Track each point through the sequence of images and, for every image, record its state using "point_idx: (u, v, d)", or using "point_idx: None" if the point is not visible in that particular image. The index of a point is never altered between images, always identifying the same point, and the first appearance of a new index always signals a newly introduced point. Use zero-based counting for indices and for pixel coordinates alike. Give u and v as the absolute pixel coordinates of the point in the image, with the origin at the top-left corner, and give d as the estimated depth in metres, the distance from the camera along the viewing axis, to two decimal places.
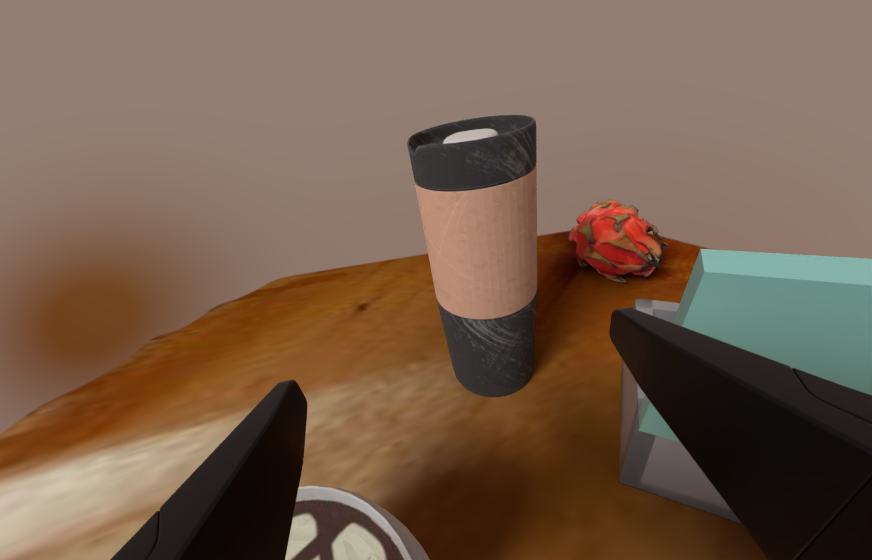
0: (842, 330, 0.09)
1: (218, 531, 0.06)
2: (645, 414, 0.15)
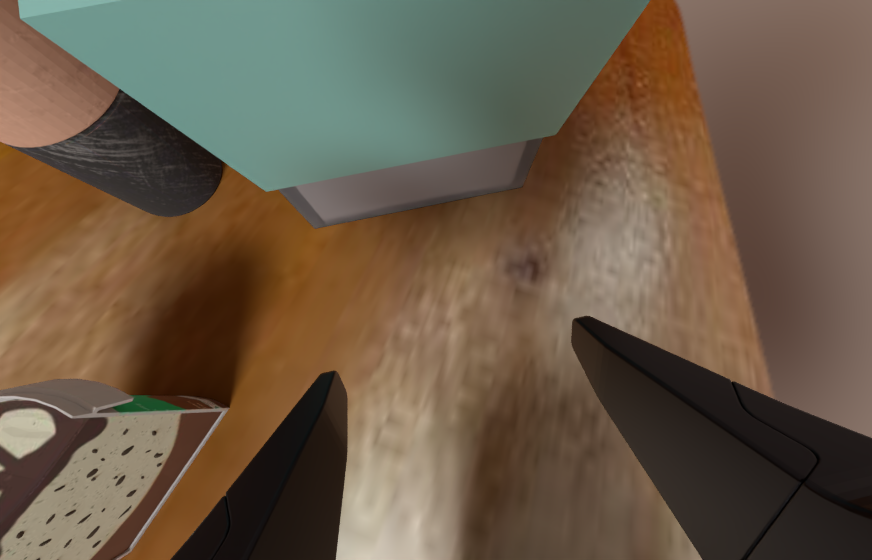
0: (221, 50, 0.09)
1: (285, 516, 0.06)
2: (248, 178, 0.16)
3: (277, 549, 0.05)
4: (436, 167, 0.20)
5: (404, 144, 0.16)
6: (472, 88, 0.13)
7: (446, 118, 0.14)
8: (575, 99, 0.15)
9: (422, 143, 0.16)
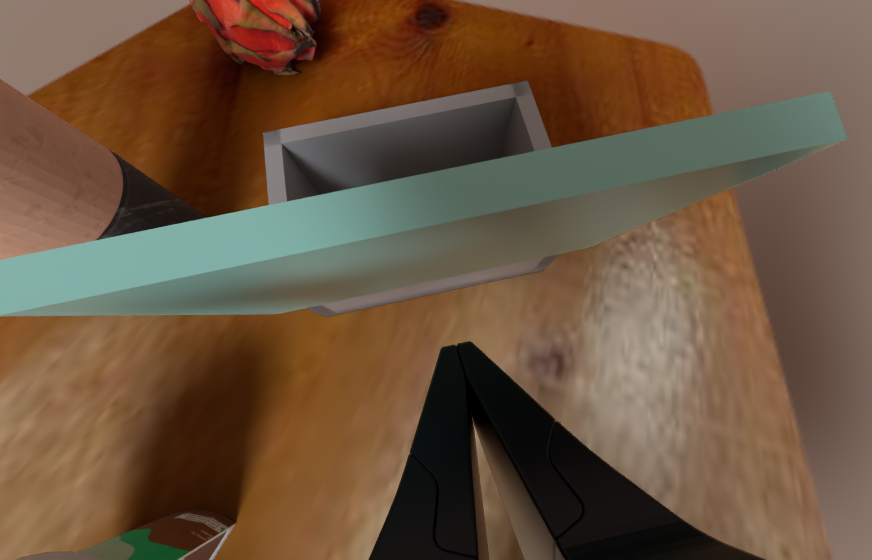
0: (237, 285, 0.08)
1: (473, 473, 0.06)
2: (259, 313, 0.15)
3: (477, 503, 0.05)
4: None
5: (429, 277, 0.14)
6: (511, 249, 0.11)
7: (477, 262, 0.13)
8: (617, 234, 0.14)
9: (448, 273, 0.15)
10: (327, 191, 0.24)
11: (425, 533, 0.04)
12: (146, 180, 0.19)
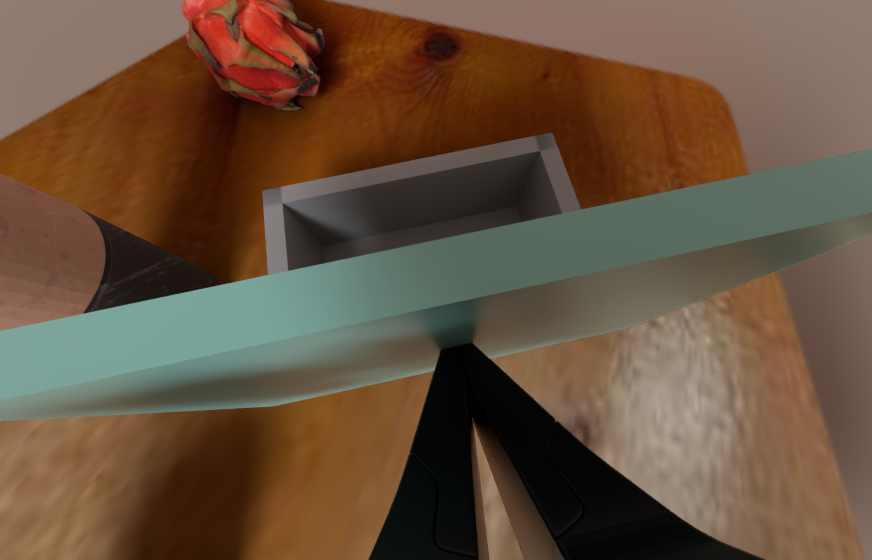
0: (206, 380, 0.06)
1: (474, 473, 0.06)
2: (252, 406, 0.13)
3: (477, 503, 0.05)
4: None
5: None
6: (545, 331, 0.10)
7: (504, 346, 0.11)
8: (666, 312, 0.12)
9: None
10: (331, 241, 0.23)
11: (425, 533, 0.04)
12: (133, 244, 0.17)
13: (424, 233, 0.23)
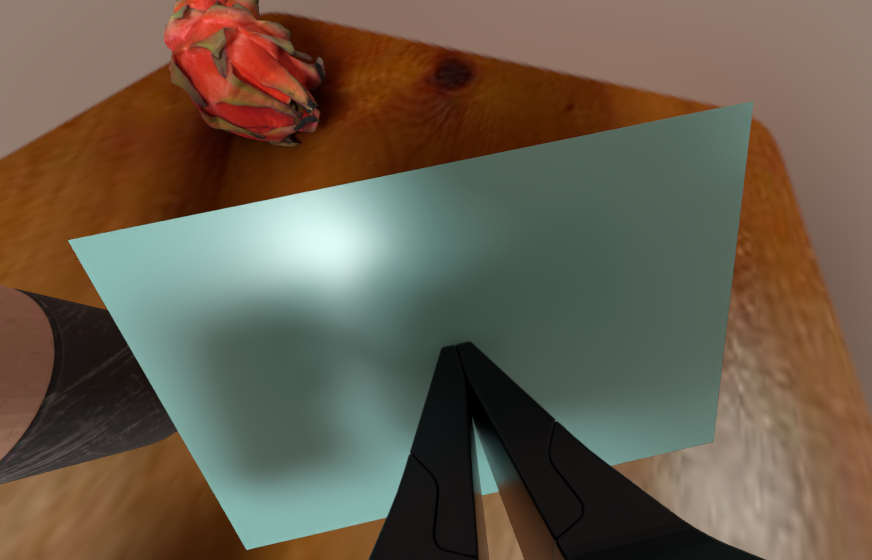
0: (244, 278, 0.08)
1: (474, 473, 0.06)
2: (227, 513, 0.10)
3: (477, 503, 0.05)
4: None
5: None
6: (551, 342, 0.09)
7: None
8: (713, 366, 0.10)
9: None
10: None
11: (425, 533, 0.04)
12: (95, 330, 0.14)
13: None
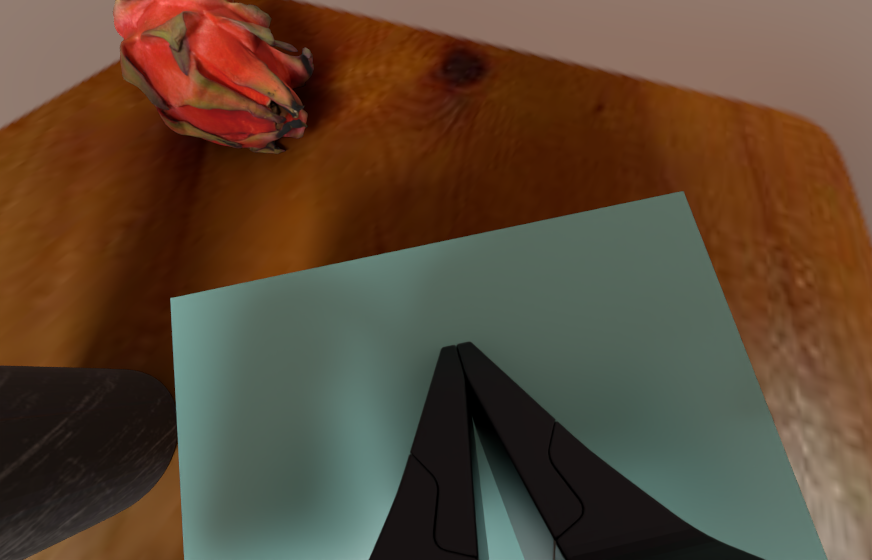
0: (286, 329, 0.10)
1: (473, 473, 0.06)
2: None
3: (477, 503, 0.05)
4: None
5: (490, 553, 0.08)
6: (567, 401, 0.09)
7: None
8: (771, 442, 0.09)
9: None
10: None
11: (425, 533, 0.04)
12: (13, 410, 0.11)
13: None
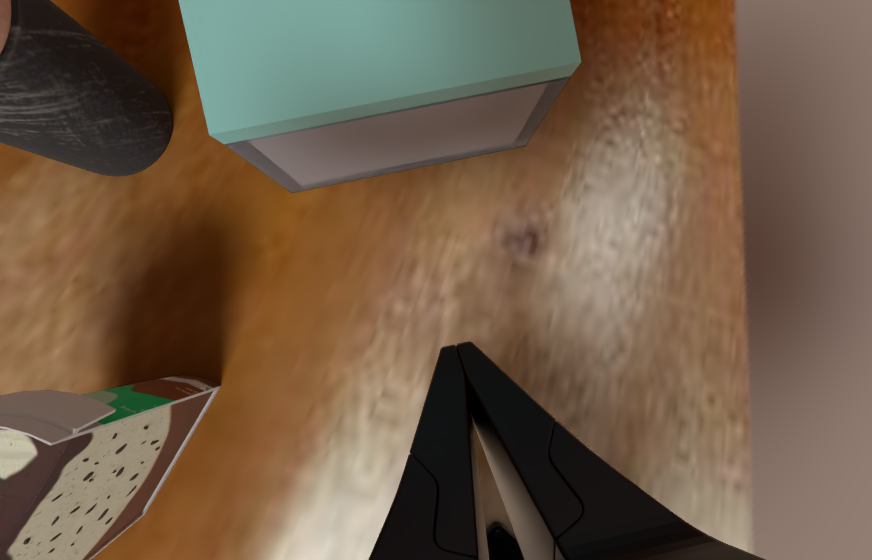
0: None
1: (473, 473, 0.06)
2: (200, 94, 0.14)
3: (477, 503, 0.05)
4: (431, 130, 0.17)
5: (381, 49, 0.14)
6: None
7: (420, 5, 0.14)
8: None
9: (403, 50, 0.14)
10: None
11: (425, 534, 0.04)
12: None
13: None
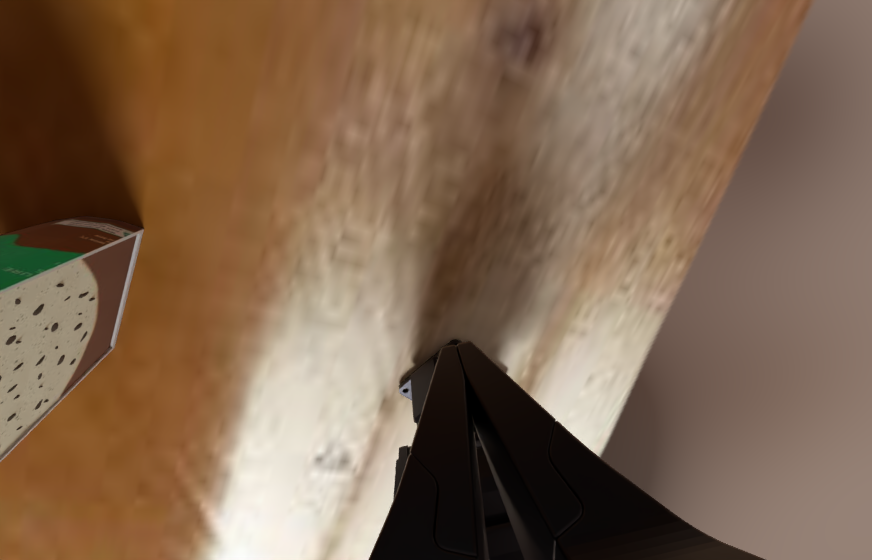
0: None
1: (473, 473, 0.06)
2: None
3: (477, 503, 0.05)
4: None
5: None
6: None
7: None
8: None
9: None
10: None
11: (425, 533, 0.04)
12: None
13: None
